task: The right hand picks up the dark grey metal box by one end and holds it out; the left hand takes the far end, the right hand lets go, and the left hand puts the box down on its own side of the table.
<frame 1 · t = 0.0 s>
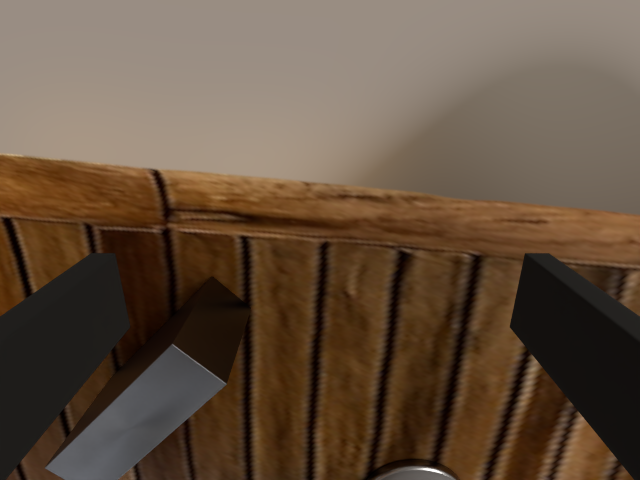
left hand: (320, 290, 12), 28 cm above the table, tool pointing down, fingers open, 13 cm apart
box: (178, 343, 47), on the table
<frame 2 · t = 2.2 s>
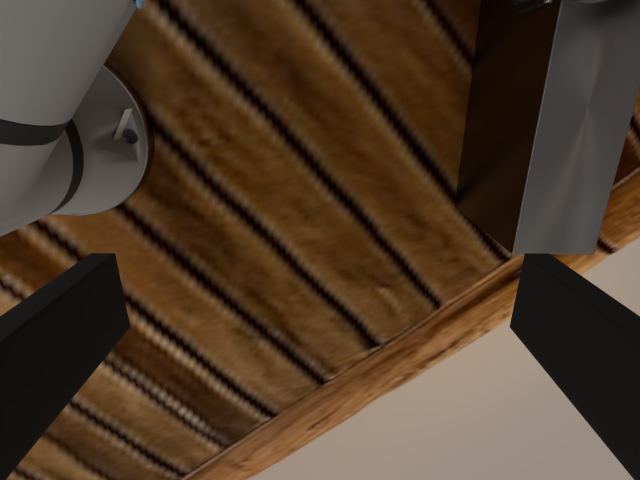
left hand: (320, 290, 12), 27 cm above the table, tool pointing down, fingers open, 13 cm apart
box: (499, 103, 36), on the table, touching right hand
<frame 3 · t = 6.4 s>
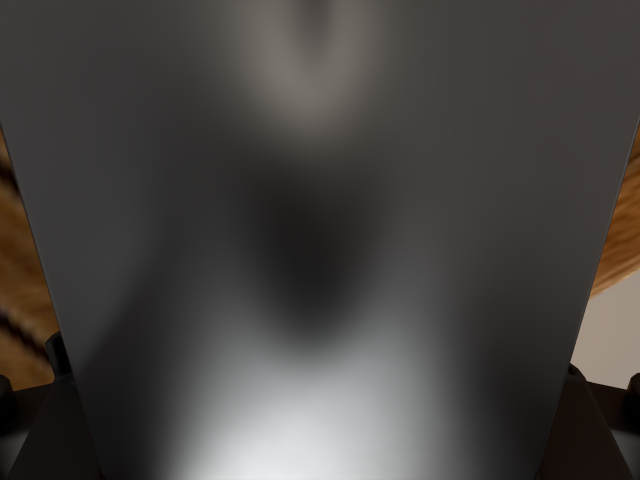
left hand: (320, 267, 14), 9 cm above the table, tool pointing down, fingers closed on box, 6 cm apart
box: (319, 59, 15), point 5 cm above the table, touching left hand, right hand
when the right hand's fingers open (14 cm above the table, at t = 7.3 s): box moves 2 cm, held by the left hand.
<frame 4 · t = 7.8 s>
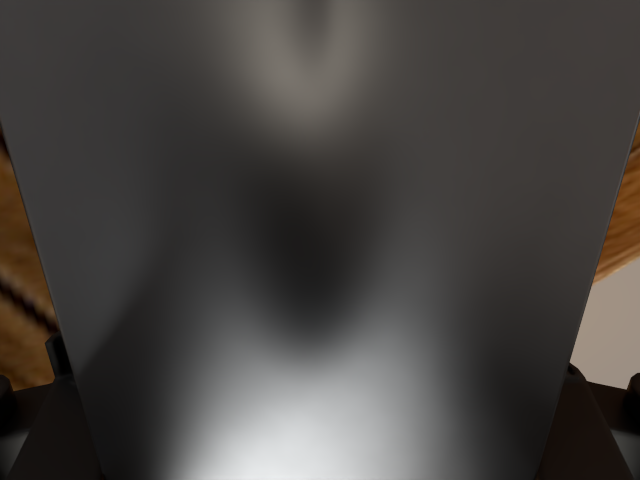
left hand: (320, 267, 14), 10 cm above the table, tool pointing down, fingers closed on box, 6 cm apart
box: (319, 59, 15), point 7 cm above the table, touching left hand
when the left hand's fingers open (4 cm above the table, at t = 15.5 s): box drops 1 cm, on the table.
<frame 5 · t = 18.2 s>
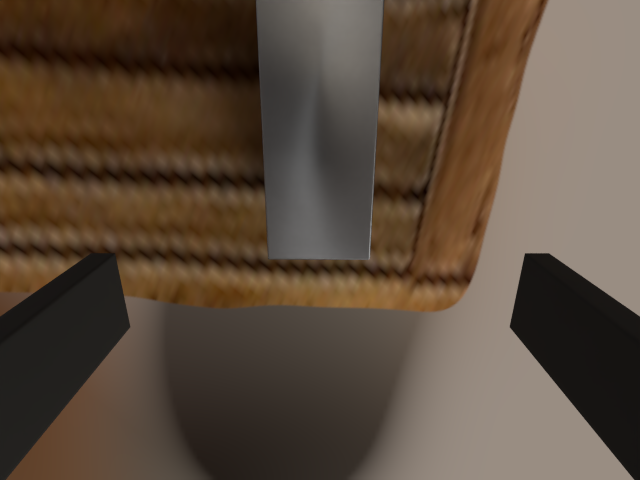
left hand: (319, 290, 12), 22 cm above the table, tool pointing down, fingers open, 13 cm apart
box: (319, 79, 30), on the table
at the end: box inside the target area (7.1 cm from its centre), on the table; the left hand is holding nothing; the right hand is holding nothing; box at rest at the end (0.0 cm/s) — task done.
